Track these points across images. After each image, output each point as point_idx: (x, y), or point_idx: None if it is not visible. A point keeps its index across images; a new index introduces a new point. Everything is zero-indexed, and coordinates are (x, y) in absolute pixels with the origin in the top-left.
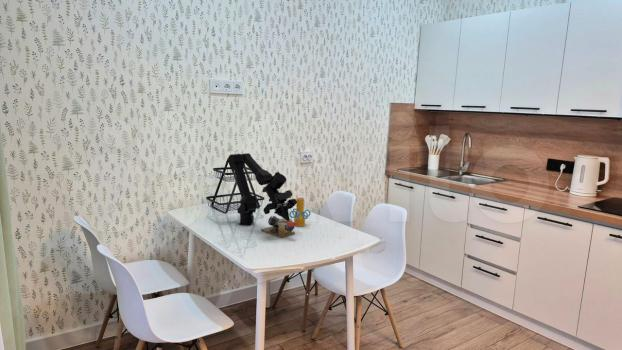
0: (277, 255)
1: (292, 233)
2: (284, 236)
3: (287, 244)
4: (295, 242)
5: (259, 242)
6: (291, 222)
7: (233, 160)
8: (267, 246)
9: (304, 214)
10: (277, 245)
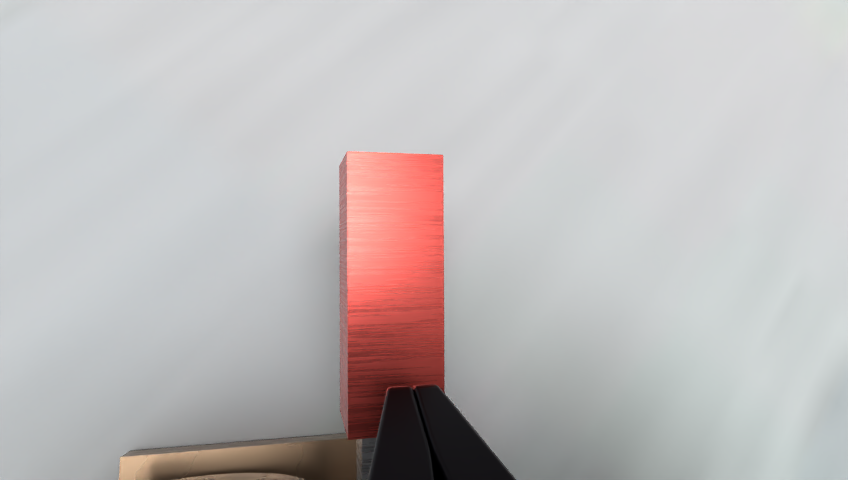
0: (798, 26)
1: (189, 449)
2: None
3: (538, 179)
4: None
5: (760, 462)
6: (411, 270)
7: None
8: (753, 282)
9: None
10: (650, 232)
